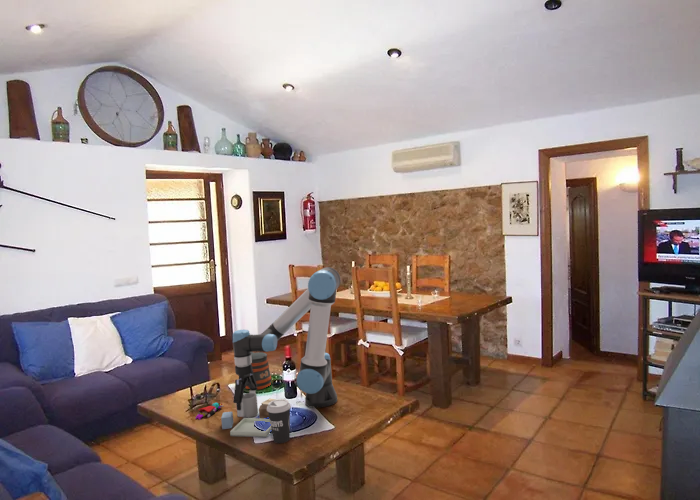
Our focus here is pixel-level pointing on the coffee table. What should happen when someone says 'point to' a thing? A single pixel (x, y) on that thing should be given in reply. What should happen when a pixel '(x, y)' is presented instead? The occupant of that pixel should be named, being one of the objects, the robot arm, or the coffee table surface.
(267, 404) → the beech block
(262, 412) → the walnut block
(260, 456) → the coffee table surface
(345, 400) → the coffee table surface
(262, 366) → the beer stein
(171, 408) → the coffee table surface
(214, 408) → the toy
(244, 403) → the cup
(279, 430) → the coffee cup
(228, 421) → the blue painted block
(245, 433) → the tray
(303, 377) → the robot arm
